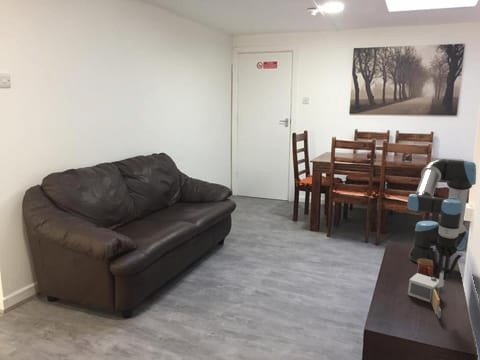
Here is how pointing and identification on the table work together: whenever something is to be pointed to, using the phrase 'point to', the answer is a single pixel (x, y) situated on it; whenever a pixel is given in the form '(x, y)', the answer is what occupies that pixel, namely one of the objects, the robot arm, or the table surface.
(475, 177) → the robot arm
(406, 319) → the table surface
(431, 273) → the mug
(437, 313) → the door
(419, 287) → the housing
